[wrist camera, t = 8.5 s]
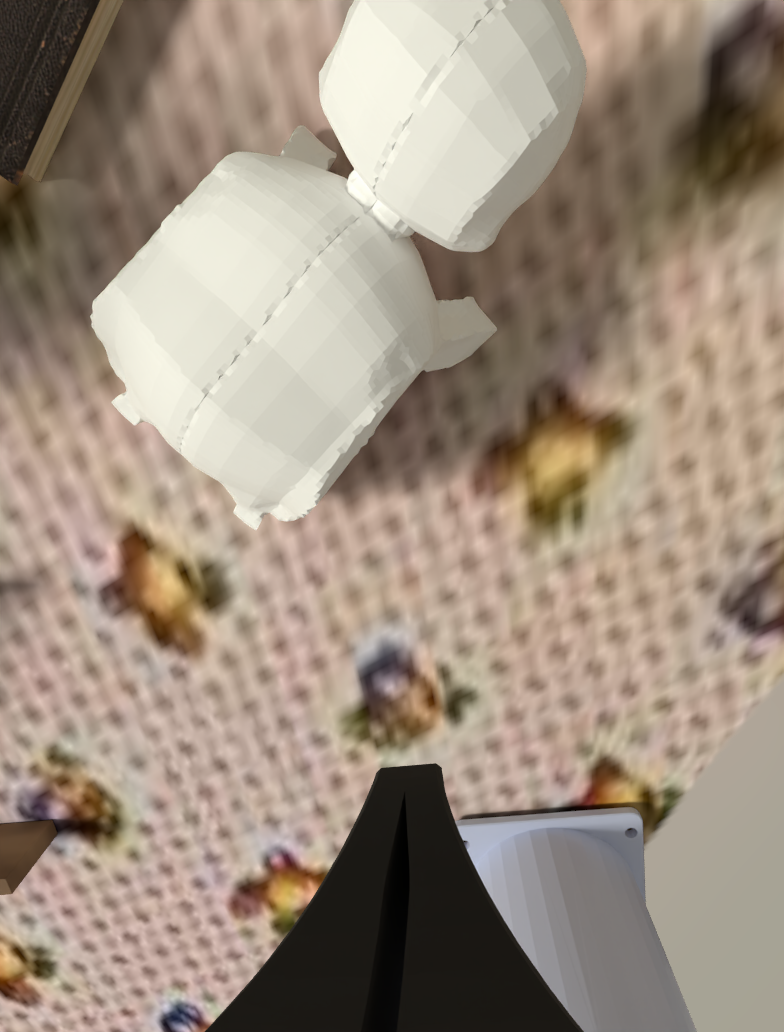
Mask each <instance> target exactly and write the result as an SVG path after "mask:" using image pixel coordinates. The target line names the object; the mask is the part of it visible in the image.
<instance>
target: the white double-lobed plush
mask: <svg viewBox="0 0 784 1032" xmlns="http://www.w3.org/2000/svg"><path fill="white" fill-rule="evenodd" d="M586 71H587V68H586V61H585V58H584V55H583V53H582V50H581V48H580V45H579V43H578V40H577V38H576V35H575V32H574V30H573V27H572V25H571V22H570V20H569V17H568V15H567V13H566V11H565V9H564V8H563V6H562V4H561V2H560V1H559V0H354V2H353V4H352V5H351V7H350V9H349V11H348V14H347V17H346V19H345V22H344V26H343V29H342V32H341V34H340V36H339V39H338V41H337V43H336V45H335V46H334V48H333V50H332V52H331V53H330V55H329V56H328V58H327V59H326V61H325V63H324V66H323V68H322V69H321V71H320V72H319V89H320V93H319V96H320V102H321V105H322V109H323V111H324V113H325V115H326V117H327V119H328V121H329V123H330V125H331V127H332V129H333V131H334V133H335V134H336V136H337V138H338V140H339V142H340V144H341V146H342V148H343V150H344V152H345V154H346V156H347V158H348V159H349V161H350V162H351V164H352V166H353V167H354V170H353V171H352V172H351V174H350V175H349V178H348V179H346V178H344V177H342V176H339V175H337V174H334V173H331V172H329V171H328V170H329V169H330V167H331V165H332V164H333V162H334V161H335V159H336V156H337V153H335V152H333V151H331V150H330V149H328V148H327V147H326V146H325V145H324V144H323V143H322V142H321V141H320V140H319V139H318V138H316V137H315V136H314V135H313V134H312V133H311V132H310V131H309V130H308V129H307V128H306V127H305V126H303V125H301V126H298V127H297V128H296V129H295V130H294V132H293V133H292V135H291V137H290V139H289V141H288V142H287V143H286V144H285V146H284V148H283V150H282V153H281V155H279V156H270V155H266V154H262V153H255V152H233V153H232V154H230V155H227V156H225V157H224V158H223V159H222V160H221V161H220V162H219V163H218V164H217V165H216V167H215V168H214V169H213V171H212V172H211V173H210V174H209V175H208V176H206V177H205V178H204V179H203V180H202V181H201V182H200V183H199V185H198V186H197V188H196V189H195V190H194V191H193V192H192V193H191V194H190V195H189V196H188V197H187V198H186V199H185V200H184V201H183V202H182V204H180V205H177V206H176V207H175V209H174V210H173V211H172V212H171V213H170V214H169V215H168V216H167V217H166V218H165V219H164V221H163V222H162V223H161V227H160V228H159V229H158V230H157V231H156V232H155V233H154V234H153V236H152V237H151V238H150V240H149V241H148V242H147V243H146V244H145V245H144V246H143V247H142V248H141V249H140V250H139V251H138V252H137V253H136V255H135V256H134V258H133V259H132V260H131V261H130V262H128V263H127V264H126V265H125V266H124V267H123V269H122V270H121V271H120V272H119V273H118V275H117V276H116V277H115V278H114V279H113V280H112V281H111V282H110V283H109V284H108V286H107V287H106V288H105V289H104V290H103V291H102V292H101V293H100V294H99V296H98V297H97V298H96V299H95V300H94V301H93V304H92V310H93V313H92V314H91V316H90V318H91V320H92V324H91V326H92V328H93V329H94V331H95V334H96V336H97V337H98V339H99V340H100V341H101V342H102V343H103V345H104V348H105V349H106V352H107V355H108V359H109V362H110V365H111V367H112V368H113V369H114V371H115V374H116V375H117V376H118V377H119V378H120V379H121V380H122V381H123V382H124V383H125V386H126V390H127V391H126V392H125V393H123V394H120V395H119V396H117V397H116V398H115V399H114V400H113V401H112V402H111V403H112V404H113V405H114V406H115V408H116V409H117V410H118V411H119V412H120V413H121V414H122V415H123V416H124V417H125V418H126V419H127V420H129V421H130V422H131V423H132V424H133V425H137V424H139V423H142V422H144V421H145V422H147V423H150V424H152V425H154V426H155V427H156V428H157V429H158V431H159V432H160V433H161V435H162V436H163V437H164V439H165V440H166V441H167V443H168V444H169V445H170V446H172V447H173V448H174V449H175V450H177V451H178V452H179V453H180V454H181V455H183V456H184V457H185V458H186V459H187V460H188V461H189V462H190V463H191V464H192V465H193V466H194V467H195V468H197V469H199V470H200V471H202V472H204V473H205V474H207V475H209V476H210V477H212V478H214V479H216V480H217V481H219V482H220V483H221V484H222V485H223V486H224V487H225V488H226V489H227V491H228V492H229V493H230V494H231V496H232V497H233V499H234V501H235V502H236V503H237V504H236V507H235V509H234V514H235V515H236V516H237V517H239V518H240V519H241V520H242V521H243V522H244V523H245V524H247V525H248V526H250V527H251V528H253V529H254V530H257V528H258V527H259V524H260V522H261V520H262V518H263V516H264V515H266V514H268V513H271V514H272V515H273V516H275V517H276V518H277V519H278V520H279V521H294V520H297V519H299V518H301V517H303V518H304V517H305V516H306V514H309V513H310V511H311V510H312V509H313V508H314V507H315V506H316V505H317V504H318V502H319V501H320V500H321V499H322V498H323V496H324V495H325V494H326V493H327V492H328V490H329V489H330V487H331V486H332V485H333V483H334V482H335V481H336V480H337V479H338V477H339V476H340V475H341V473H342V472H343V471H344V469H345V468H346V467H347V465H348V464H349V463H350V462H351V460H352V459H353V457H354V456H355V455H357V454H358V453H359V451H360V448H361V447H362V446H364V445H366V444H367V443H368V439H369V438H370V437H371V436H373V435H374V433H375V430H376V427H377V426H378V425H379V424H380V422H381V421H382V420H383V418H384V417H385V416H386V414H387V413H388V412H389V410H390V409H391V408H392V407H393V405H394V404H395V402H396V401H397V400H398V399H399V397H400V396H401V395H402V394H403V393H404V391H405V390H406V389H407V388H408V387H409V385H410V384H411V383H412V382H413V381H414V380H415V378H416V377H417V376H418V375H419V374H420V372H421V371H423V370H425V371H426V372H429V371H433V370H439V369H444V368H450V367H452V366H454V365H455V364H457V363H459V362H461V361H463V360H464V359H466V358H467V357H469V356H471V355H472V354H473V353H474V352H475V351H476V350H477V349H478V348H479V347H480V346H481V345H482V344H483V343H484V342H485V341H486V340H487V339H489V338H490V337H491V336H492V335H493V334H494V333H495V332H496V331H497V328H496V326H495V325H494V324H493V323H492V322H491V320H490V319H489V318H488V317H487V316H486V315H485V313H484V312H483V311H482V310H481V309H480V308H479V306H478V305H477V303H476V302H475V300H474V298H473V297H465V298H464V299H459V300H458V299H454V300H452V301H450V300H436V298H435V295H434V292H433V290H432V287H431V284H430V281H429V278H428V275H427V272H426V270H425V267H424V264H423V261H422V259H421V256H420V254H419V252H418V250H417V248H416V247H415V245H414V243H413V241H412V240H411V238H410V236H411V235H412V234H413V233H414V232H417V233H419V234H421V235H423V236H425V237H426V238H428V239H430V240H432V241H434V242H436V243H438V244H439V245H441V246H443V247H445V248H447V249H450V250H452V251H462V252H480V251H483V250H485V249H486V248H488V247H489V246H490V245H492V244H493V243H494V241H495V239H496V237H497V235H498V233H499V231H500V229H501V227H502V226H503V225H504V223H505V222H506V220H507V219H508V218H509V217H510V215H511V214H512V213H513V212H514V211H515V210H516V209H517V208H518V207H519V206H521V205H522V204H523V203H524V202H525V201H527V200H528V199H529V198H530V197H531V196H532V195H533V194H534V193H535V192H536V191H537V190H538V188H539V187H540V186H541V185H542V183H543V182H544V181H545V179H546V178H547V177H548V175H549V174H550V173H551V171H552V170H553V168H554V167H555V165H556V164H557V162H558V160H559V158H560V156H561V154H562V153H563V151H564V150H565V148H566V146H567V144H568V143H569V140H570V137H571V135H572V131H573V128H574V125H575V121H576V118H577V114H578V111H579V108H580V106H581V103H582V99H583V95H584V88H585V79H586Z"/></svg>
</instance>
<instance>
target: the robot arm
mask: <svg viewBox="0 0 784 1032" xmlns="http://www.w3.org/2000/svg"><path fill="white" fill-rule="evenodd" d="M629 828H633V829H631V830H627V829H629ZM463 840H465V841H467V842H463ZM205 1032H697V1031H696V1028H695V1026H694V1023H693V1021H692V1018H691V1016H690V1014H689V1011H688V1009H687V1006H686V1004H685V1001H684V999H683V996H682V994H681V991H680V989H679V986H678V984H677V981H676V979H675V976H674V974H673V972H672V969H671V967H670V964H669V962H668V959H667V957H666V954H665V952H664V949H663V947H662V945H661V942H660V939H659V937H658V935H657V932H656V930H655V927H654V925H653V922H652V920H651V917H650V915H649V912H648V910H647V908H646V903H645V873H644V842H643V820H642V817H641V815H640V813H639V812H638V811H637V809H635V808H632V807H622V808H609V809H596V810H583V811H570V812H557V813H544V814H531V815H518V816H505V817H491V818H478V819H465V820H458V821H455V820H454V818H453V815H452V812H451V809H450V806H449V803H448V800H447V797H446V793H445V788H444V782H443V775H442V768H441V767H440V766H439V765H437V764H436V763H435V764H424V765H412V766H400V767H389V768H381V769H380V770H379V771H378V772H377V773H376V776H375V779H374V781H373V784H372V786H371V789H370V791H369V794H368V796H367V798H366V801H365V803H364V805H363V807H362V809H361V812H360V814H359V816H358V818H357V820H356V822H355V824H354V826H353V828H352V830H351V832H350V834H349V836H348V838H347V840H346V842H345V844H344V846H343V847H342V849H341V851H340V853H339V855H338V857H337V858H336V860H335V862H334V863H333V865H332V867H331V869H330V870H329V872H328V874H327V875H326V877H325V879H324V881H323V882H322V884H321V886H320V887H319V889H318V890H317V892H316V893H315V895H314V897H313V898H312V900H311V901H310V903H309V904H308V906H307V907H306V909H305V910H304V912H303V913H302V915H301V916H300V917H299V919H298V920H297V922H296V923H295V925H294V926H293V928H292V929H291V930H290V932H289V933H288V934H287V936H286V937H285V938H284V940H283V941H282V942H281V943H280V945H279V946H278V947H277V949H276V950H275V951H274V953H273V954H272V955H271V957H270V958H269V959H268V961H267V962H266V963H265V964H264V965H263V967H262V968H261V969H260V970H259V972H258V973H257V974H256V975H255V976H254V978H253V979H252V980H251V981H250V982H249V983H248V984H247V986H246V987H245V988H244V989H243V990H242V991H241V992H240V993H239V995H238V996H237V997H236V998H235V999H234V1000H233V1001H232V1002H231V1004H230V1005H229V1006H228V1007H227V1008H226V1009H225V1010H224V1011H223V1012H222V1014H221V1015H220V1016H219V1017H218V1018H217V1019H216V1020H215V1021H214V1022H213V1023H212V1025H211V1026H210V1027H209V1028H208V1029H207V1030H206V1031H205Z"/></svg>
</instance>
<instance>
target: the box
mask: <svg viewBox="0 0 784 1032" xmlns="http://www.w3.org/2000/svg"><path fill="white" fill-rule="evenodd" d="M56 835H57V831H56V828H55V826H54V823H53V820H45V821H33V822H21V823H9V824H0V895H6V894H12V893H13V892H14V891H15V889H16V888H17V887H18V885H19V884H20V883H21V881H22V880H23V879H24V877H25V876H26V875H27V874H28V872H29V871H30V870H31V868H32V867H33V866H34V864H35V863H36V862H37V860H38V859H39V858H40V856H41V855H42V854H43V853H44V851H45V850H46V849H47V847H48V846H49V845H50V843H51V842H52V841H53V839H54V838H55V837H56Z"/></svg>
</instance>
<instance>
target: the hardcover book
mask: <svg viewBox="0 0 784 1032" xmlns="http://www.w3.org/2000/svg"><path fill="white" fill-rule="evenodd" d="M123 1H124V0H0V175H1V176H2V177H4V178H5V179H7V180H8V181H9V182H11V183H13V184H15V185H18V183H19V181H20V179H21V177H22V174H26V175H28V176H30V177H31V178H33V179H34V180H35V181H39V182H41V180H42V178H43V176H44V173H45V171H46V169H47V167H48V165H49V162H50V160H51V158H52V156H53V154H54V152H55V149H56V147H57V145H58V143H59V141H60V138H61V136H62V134H63V132H64V130H65V127H66V125H67V123H68V121H69V119H70V117H71V114H72V112H73V110H74V108H75V106H76V103H77V101H78V99H79V97H80V95H81V92H82V90H83V88H84V86H85V84H86V82H87V79H88V77H89V75H90V73H91V71H92V68H93V66H94V64H95V62H96V60H97V57H98V55H99V53H100V51H101V49H102V47H103V44H104V42H105V40H106V38H107V36H108V33H109V31H110V29H111V27H112V25H113V23H114V20H115V18H116V16H117V14H118V12H119V9H120V7H121V5H122V3H123Z"/></svg>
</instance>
